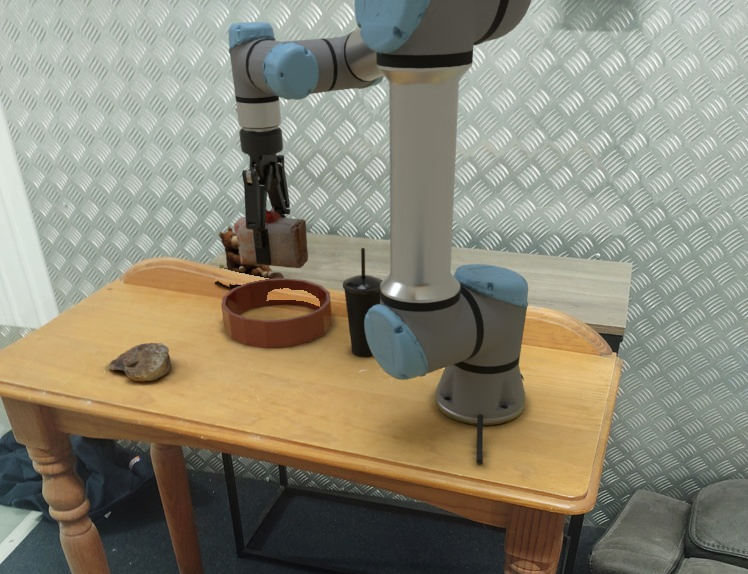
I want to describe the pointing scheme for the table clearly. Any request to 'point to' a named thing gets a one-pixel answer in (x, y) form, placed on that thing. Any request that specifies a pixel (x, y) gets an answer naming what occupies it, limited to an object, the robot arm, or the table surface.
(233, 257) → the bear figurine
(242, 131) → the robot arm
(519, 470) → the table surface
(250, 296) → the reddish-brown round ring
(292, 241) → the food item
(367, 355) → the drinking cup
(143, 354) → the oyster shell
